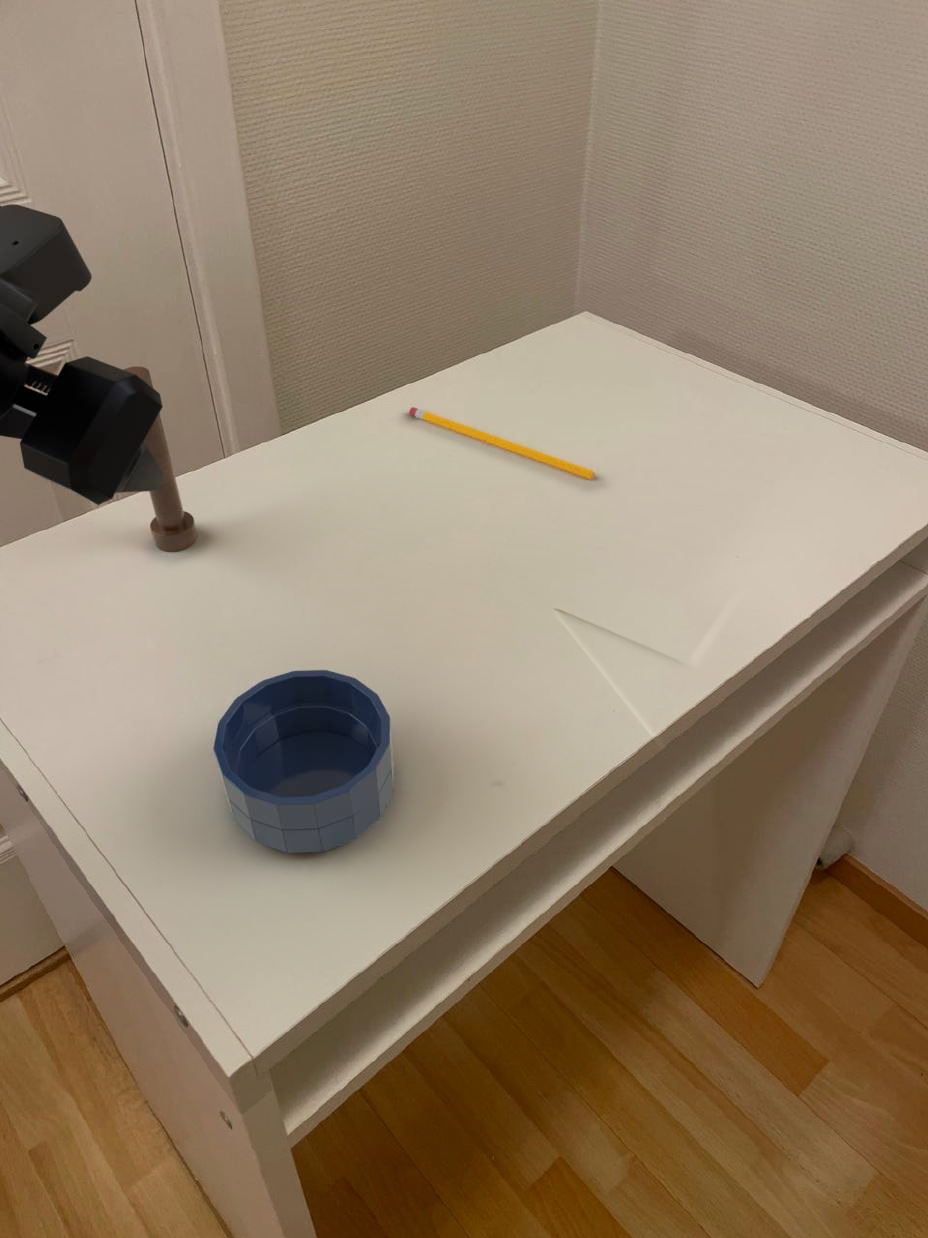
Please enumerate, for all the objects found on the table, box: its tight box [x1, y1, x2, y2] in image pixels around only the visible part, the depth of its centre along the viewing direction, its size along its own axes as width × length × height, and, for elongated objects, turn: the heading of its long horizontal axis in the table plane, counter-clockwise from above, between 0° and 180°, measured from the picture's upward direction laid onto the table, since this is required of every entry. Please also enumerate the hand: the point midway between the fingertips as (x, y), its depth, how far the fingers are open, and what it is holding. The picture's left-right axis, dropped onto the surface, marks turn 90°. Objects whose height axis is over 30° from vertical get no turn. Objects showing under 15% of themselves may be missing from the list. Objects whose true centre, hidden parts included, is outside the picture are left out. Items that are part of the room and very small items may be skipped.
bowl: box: [212, 669, 395, 854], centre depth 53 cm, size 9×9×5 cm
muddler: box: [123, 366, 198, 553], centre depth 67 cm, size 3×3×14 cm
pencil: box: [408, 406, 596, 481], centre depth 81 cm, size 1×18×1 cm, turn 57°
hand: (103, 457), depth 55 cm, fingers open, 9 cm apart
